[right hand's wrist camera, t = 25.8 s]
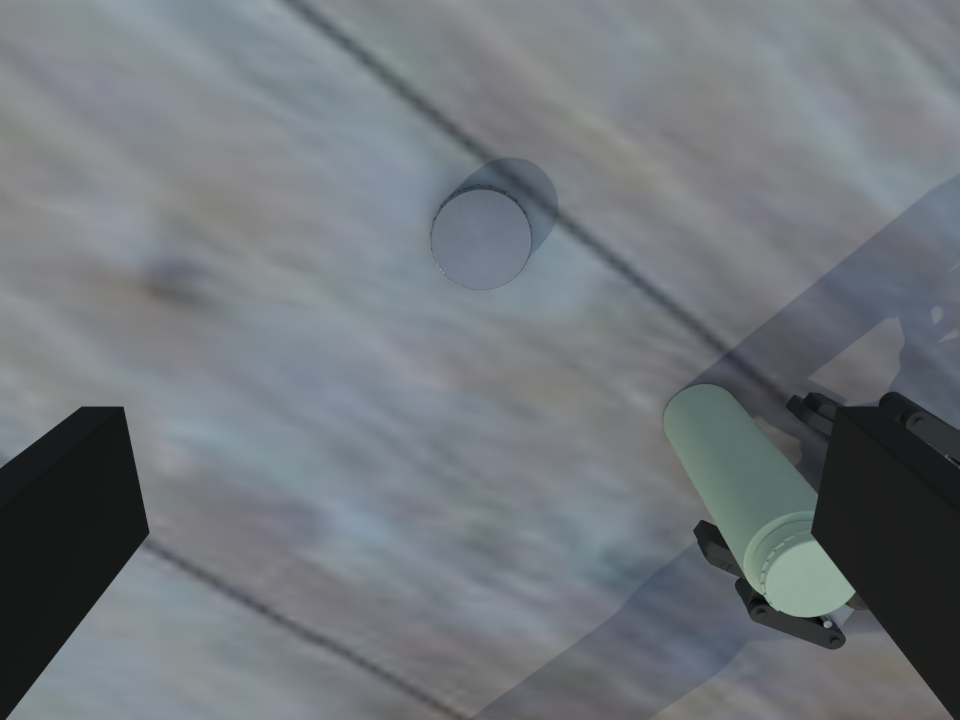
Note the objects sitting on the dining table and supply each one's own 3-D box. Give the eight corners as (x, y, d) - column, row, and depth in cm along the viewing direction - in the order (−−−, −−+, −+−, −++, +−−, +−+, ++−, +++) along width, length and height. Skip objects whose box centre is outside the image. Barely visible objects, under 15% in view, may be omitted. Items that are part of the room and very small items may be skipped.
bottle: (703, 368, 40) (824, 510, 26) (754, 415, 41) (896, 576, 27) (646, 421, 41) (732, 583, 27) (697, 465, 42) (804, 643, 28)
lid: (526, 287, 38) (527, 294, 36) (429, 280, 38) (427, 287, 36) (536, 188, 36) (538, 192, 35) (434, 180, 36) (431, 184, 34)
